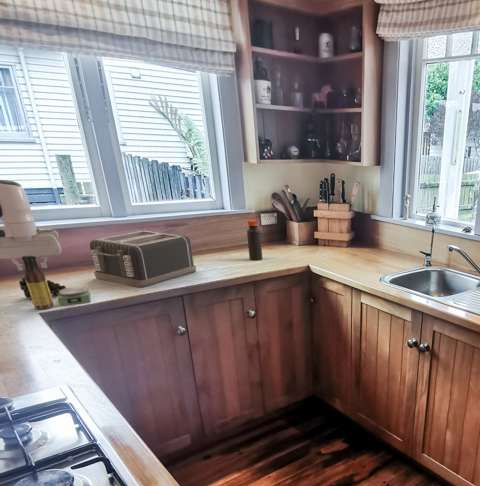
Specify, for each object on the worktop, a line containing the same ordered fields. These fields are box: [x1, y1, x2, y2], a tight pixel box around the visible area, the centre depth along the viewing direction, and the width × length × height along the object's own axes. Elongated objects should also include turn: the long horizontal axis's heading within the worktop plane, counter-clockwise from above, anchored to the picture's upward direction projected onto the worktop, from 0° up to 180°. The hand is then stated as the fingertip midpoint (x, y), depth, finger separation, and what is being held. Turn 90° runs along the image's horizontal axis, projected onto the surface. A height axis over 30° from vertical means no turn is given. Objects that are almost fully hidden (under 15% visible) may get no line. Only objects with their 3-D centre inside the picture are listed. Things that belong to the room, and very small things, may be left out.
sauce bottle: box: [21, 256, 55, 310], centre depth 170 cm, size 6×6×20 cm
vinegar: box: [246, 219, 263, 261], centre depth 245 cm, size 7×7×20 cm
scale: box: [57, 287, 92, 306], centre depth 181 cm, size 10×11×3 cm
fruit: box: [18, 276, 67, 299], centre depth 184 cm, size 9×8×15 cm
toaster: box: [89, 230, 197, 289], centre depth 211 cm, size 30×36×17 cm
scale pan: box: [59, 286, 88, 296], centre depth 181 cm, size 9×9×1 cm
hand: (33, 269), depth 168 cm, fingers open, 5 cm apart
